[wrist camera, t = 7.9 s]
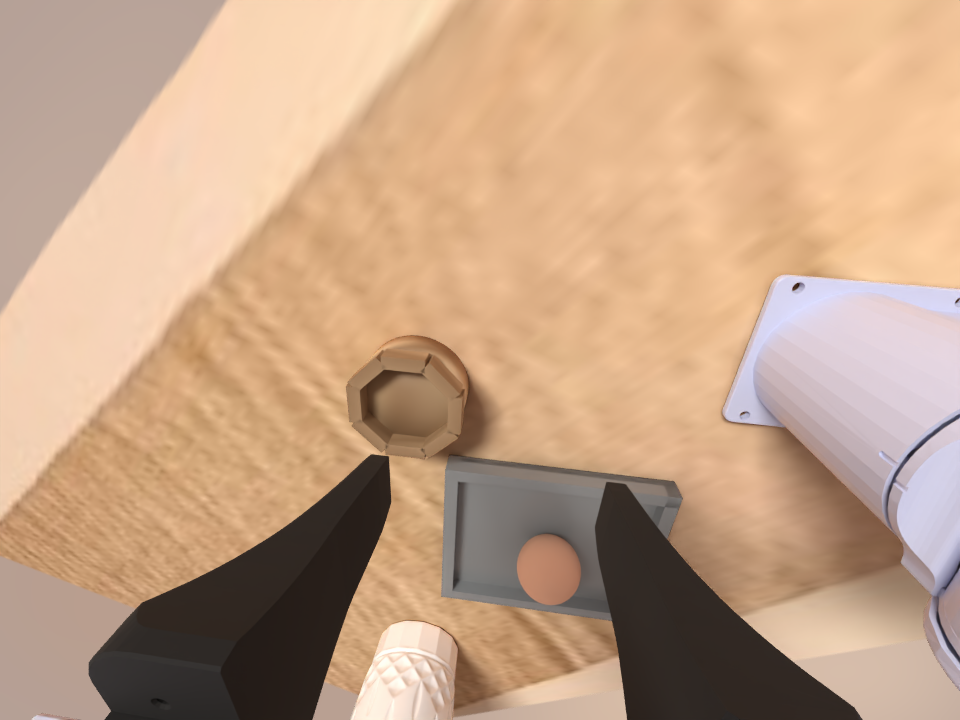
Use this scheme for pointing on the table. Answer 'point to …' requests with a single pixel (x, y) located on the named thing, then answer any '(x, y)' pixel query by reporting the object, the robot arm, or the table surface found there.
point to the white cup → (410, 675)
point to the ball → (548, 569)
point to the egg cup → (409, 397)
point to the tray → (531, 527)
